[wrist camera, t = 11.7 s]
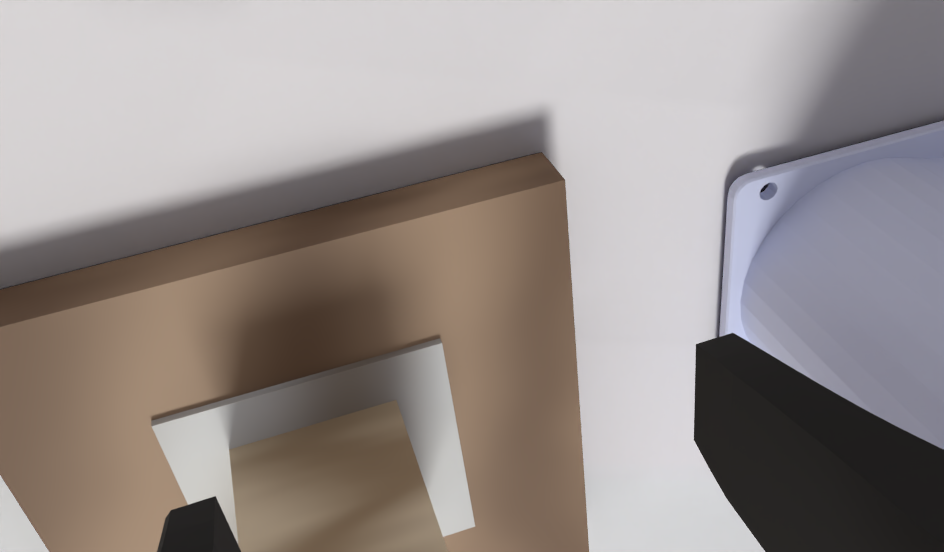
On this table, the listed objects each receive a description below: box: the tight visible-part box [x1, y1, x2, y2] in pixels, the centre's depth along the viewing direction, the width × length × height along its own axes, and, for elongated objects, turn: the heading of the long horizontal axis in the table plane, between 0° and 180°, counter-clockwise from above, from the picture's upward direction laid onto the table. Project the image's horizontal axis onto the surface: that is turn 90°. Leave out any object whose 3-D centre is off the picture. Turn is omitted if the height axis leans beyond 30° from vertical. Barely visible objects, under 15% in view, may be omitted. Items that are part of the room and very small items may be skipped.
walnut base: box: [0, 152, 589, 552], centre depth 24 cm, size 14×14×2 cm
